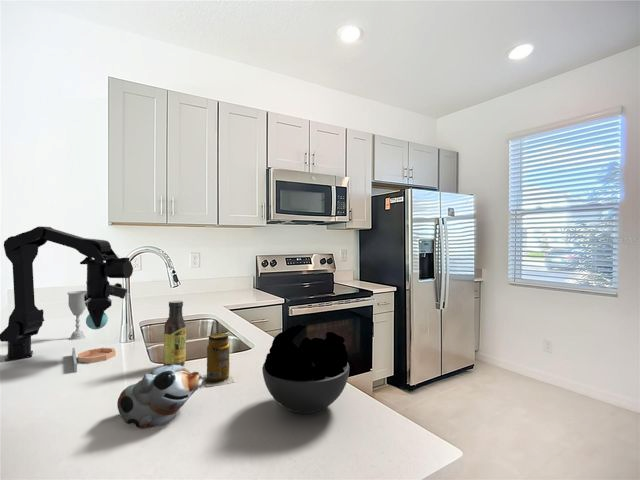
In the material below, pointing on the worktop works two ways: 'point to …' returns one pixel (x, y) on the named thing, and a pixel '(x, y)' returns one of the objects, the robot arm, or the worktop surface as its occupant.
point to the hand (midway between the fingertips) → (96, 325)
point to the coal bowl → (306, 370)
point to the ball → (91, 323)
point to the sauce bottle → (175, 336)
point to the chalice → (77, 310)
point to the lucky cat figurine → (157, 396)
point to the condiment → (218, 360)
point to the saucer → (96, 355)
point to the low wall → (74, 359)
